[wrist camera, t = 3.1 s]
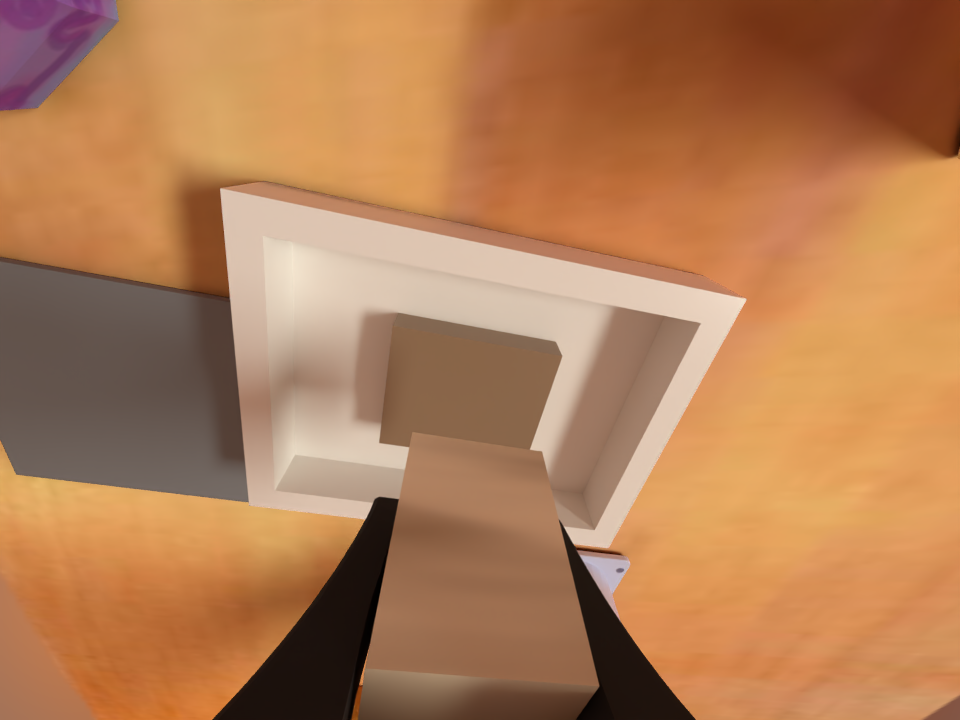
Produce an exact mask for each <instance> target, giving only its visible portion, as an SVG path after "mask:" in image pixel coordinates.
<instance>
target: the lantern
mask: <svg viewBox="0 0 960 720" xmlns="http://www.w3.org/2000/svg"><path fill="white" fill-rule="evenodd" d="M118 21H119V19H118V13H117V6H116V0H0V110H14V109H28V108H38V107H39V106H40V105H41V104H42V102H43V101H44V100H45V99H46V98H47V97H48V96H49V95H50V94H51V93H52V92H53V91H54V90H55V89H56V87H57V86H58V85H59V84H60V83H61V82H62V81H63V80H64V79H65V78H66V77H67V76H68V75H69V74H70V72H71V71H72V70H73V69H74V68H75V67H76V66H77V65H78V64H79V63H80V62H81V61H82V60H83V59H84V57H85V56H86V55H87V54H88V53H89V52H90V51H91V50H92V49H93V48H94V47H95V46H96V45H97V44H98V43H99V41H100V40H101V39H102V38H103V37H104V36H105V35H106V34H107V33H108V32H109V31H110V30H111V29H112V28H113V26H114V25H115V24H116V23H117V22H118Z"/></svg>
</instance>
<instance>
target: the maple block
mask: <svg viewBox="0 0 960 720" xmlns="http://www.w3.org/2000/svg"><path fill="white" fill-rule="evenodd" d="M598 688H599V682H598V678H597V674H596V670H595V666H594V662H593V658H592V654H591V650H590V646H589V641H588V637H587V633H586V629H585V625H584V621H583V617H582V613H581V609H580V605H579V600H578V596H577V592H576V588H575V584H574V580H573V576H572V572H571V568H570V564H569V560H568V555H567V551H566V547H565V543H564V539H563V535H562V531H561V527H560V523H559V519H558V515H557V510H556V506H555V502H554V498H553V494H552V490H551V486H550V482H549V478H548V474H547V469H546V465H545V461H544V457H543V453H542V451H535V450H528V449H522V448H515V447H508V446H502V445H495V444H488V443H482V442H475V441H468V440H462V439H455V438H448V437H442V436H435V435H428V434H421V433H415V432H412V437H411V442H410V447H409V452H408V457H407V462H406V467H405V472H404V477H403V482H402V487H401V492H400V497H399V502H398V507H397V512H396V517H395V522H394V527H393V532H392V537H391V542H390V547H389V552H388V557H387V562H386V567H385V572H384V577H383V582H382V587H381V592H380V597H379V602H378V607H377V612H376V617H375V622H374V627H373V632H372V637H371V642H370V647H369V652H368V657H367V662H366V667H365V673H364V680H363V687H362V694H361V700H360V707H359V714H358V720H576V719H577V717H578V716H579V714H580V713H581V712H582V710H583V709H584V707H585V706H586V705H587V703H588V702H589V700H590V699H591V698H592V696H593V695H594V693H595V692H596V690H597V689H598Z"/></svg>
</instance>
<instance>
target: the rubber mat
mask: <svg viewBox="0 0 960 720" xmlns="http://www.w3.org/2000/svg"><path fill="white" fill-rule="evenodd" d="M0 440H1V442H2V445H3V447H4V449H5V451H6V453H7V455H8V458H9V460H10V462H11V464H12V466H13V468H14V471H15V473H16V475H24V476H33V477H41V478H49V479H58V480H66V481H74V482H83V483H91V484H100V485H108V486H116V487H125V488H133V489H141V490H150V491H158V492H166V493H175V494H183V495H192V496H200V497H208V498H217V499H225V500H233V501H242V502H249V499H248V488H247V477H246V466H245V455H244V444H243V433H242V423H241V412H240V401H239V390H238V379H237V368H236V357H235V346H234V335H233V324H232V313H231V302H230V298H226V297H220V296H215V295H209V294H204V293H198V292H192V291H187V290H181V289H176V288H170V287H165V286H159V285H153V284H148V283H142V282H137V281H131V280H125V279H120V278H114V277H109V276H103V275H97V274H92V273H86V272H81V271H75V270H69V269H64V268H58V267H53V266H47V265H42V264H36V263H30V262H25V261H19V260H14V259H8V258H2V257H0Z"/></svg>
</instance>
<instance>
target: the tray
mask: <svg viewBox="0 0 960 720" xmlns="http://www.w3.org/2000/svg"><path fill="white" fill-rule="evenodd" d="M220 193H221V204H222V215H223V226H224V237H225V248H226V259H227V270H228V281H229V292H230V302H231V313H232V324H233V335H234V346H235V357H236V368H237V379H238V390H239V401H240V412H241V423H242V433H243V444H244V455H245V466H246V477H247V488H248V499H249V506H257V507H266V508H274V509H283V510H291V511H300V512H308V513H316V514H325V515H333V516H342V517H350V518H359V519H366V518H367V516H368V513H369V511H370V509H371V507H372V505H373V502H374V499H375V498H377V497H387V498H395V499H399V497H400V492H401V487H402V482H403V477H404V472H405V467H406V462H407V457H408V452H409V447H410V442H411V437H412V432H415V433H421V434H428V435H435V436H442V437H448V438H455V439H462V440H468V441H475V442H482V443H488V444H495V445H502V446H508V447H515V448H522V449H528V450H535V451H542V453H543V457H544V461H545V465H546V469H547V474H548V478H549V482H550V486H551V490H552V494H553V498H554V502H555V506H556V510H557V515H558V519H559V520H560V521H561V523H562V524H563V526H564V528H565V530H566V532H567V533H568V535H569V537H570V539H571V541H572V542H573V544H578V545H586V546H595V547H603V548H609V546H610V544H611V543H612V541H613V539H614V537H615V535H616V534H617V532H618V530H619V528H620V526H621V525H622V523H623V521H624V519H625V517H626V516H627V514H628V512H629V510H630V508H631V507H632V505H633V503H634V501H635V499H636V498H637V496H638V494H639V492H640V490H641V489H642V487H643V485H644V483H645V481H646V480H647V478H648V476H649V474H650V472H651V471H652V469H653V467H654V465H655V463H656V462H657V460H658V458H659V456H660V454H661V453H662V451H663V449H664V447H665V445H666V444H667V442H668V440H669V438H670V436H671V435H672V433H673V431H674V429H675V427H676V426H677V424H678V422H679V420H680V418H681V417H682V415H683V413H684V411H685V409H686V408H687V406H688V404H689V402H690V400H691V399H692V397H693V395H694V393H695V391H696V390H697V388H698V386H699V384H700V382H701V381H702V379H703V377H704V375H705V373H706V372H707V370H708V368H709V366H710V364H711V363H712V361H713V359H714V357H715V355H716V354H717V352H718V350H719V348H720V346H721V345H722V343H723V341H724V339H725V337H726V336H727V334H728V332H729V330H730V328H731V327H732V325H733V323H734V321H735V319H736V318H737V316H738V314H739V312H740V310H741V309H742V307H743V305H744V303H745V301H746V300H747V299H746V298H744V297H742V296H740V295H738V294H736V293H735V292H733V291H731V290H729V289H727V288H725V287H723V286H722V285H720V284H718V283H716V282H714V281H712V280H710V279H709V278H707V277H705V276H703V275H698V274H694V273H689V272H684V271H680V270H675V269H670V268H666V267H661V266H657V265H652V264H647V263H643V262H638V261H633V260H629V259H624V258H619V257H615V256H610V255H606V254H601V253H596V252H592V251H587V250H582V249H578V248H573V247H568V246H564V245H559V244H554V243H550V242H545V241H541V240H536V239H531V238H527V237H522V236H517V235H513V234H508V233H503V232H499V231H494V230H489V229H485V228H480V227H476V226H471V225H466V224H462V223H457V222H452V221H448V220H443V219H438V218H434V217H429V216H425V215H420V214H415V213H411V212H406V211H401V210H397V209H392V208H387V207H383V206H378V205H373V204H369V203H364V202H360V201H355V200H350V199H346V198H341V197H336V196H332V195H327V194H322V193H318V192H313V191H308V190H304V189H299V188H295V187H290V186H285V185H281V184H276V183H271V182H267V181H262V182H256V183H249V184H243V185H237V186H231V187H224V188H220Z"/></svg>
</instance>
